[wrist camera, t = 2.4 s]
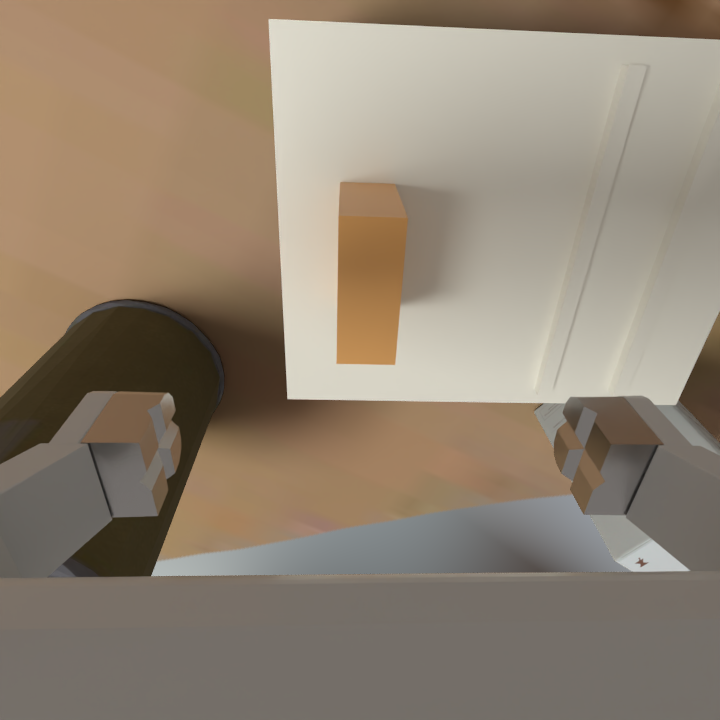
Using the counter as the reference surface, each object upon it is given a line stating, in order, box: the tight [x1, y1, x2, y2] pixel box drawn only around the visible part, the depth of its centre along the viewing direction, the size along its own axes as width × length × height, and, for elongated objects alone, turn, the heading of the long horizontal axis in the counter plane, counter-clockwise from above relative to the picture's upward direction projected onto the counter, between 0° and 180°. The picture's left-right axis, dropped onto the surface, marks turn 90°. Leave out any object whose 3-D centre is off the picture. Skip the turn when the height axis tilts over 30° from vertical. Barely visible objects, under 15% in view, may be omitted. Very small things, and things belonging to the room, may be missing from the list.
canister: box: [0, 300, 224, 577], centre depth 24 cm, size 11×10×20 cm
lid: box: [269, 19, 720, 405], centre depth 19 cm, size 19×15×7 cm
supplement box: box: [534, 401, 720, 572], centre depth 30 cm, size 7×7×13 cm
